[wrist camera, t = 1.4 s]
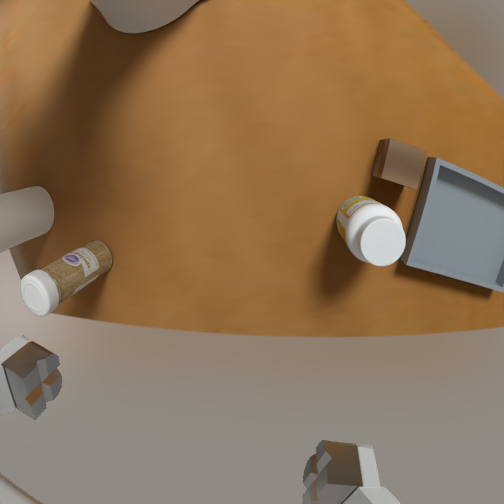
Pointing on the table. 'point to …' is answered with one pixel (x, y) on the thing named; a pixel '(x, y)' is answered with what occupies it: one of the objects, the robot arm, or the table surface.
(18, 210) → the cylindrical container
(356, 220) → the supplement bottle
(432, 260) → the tray
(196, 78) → the table surface
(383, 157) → the walnut block
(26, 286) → the sprinkles bottle
